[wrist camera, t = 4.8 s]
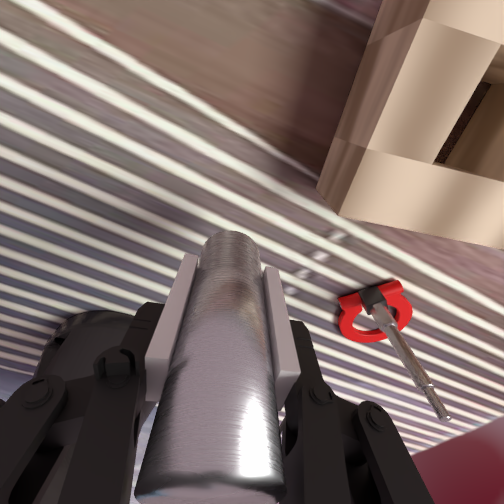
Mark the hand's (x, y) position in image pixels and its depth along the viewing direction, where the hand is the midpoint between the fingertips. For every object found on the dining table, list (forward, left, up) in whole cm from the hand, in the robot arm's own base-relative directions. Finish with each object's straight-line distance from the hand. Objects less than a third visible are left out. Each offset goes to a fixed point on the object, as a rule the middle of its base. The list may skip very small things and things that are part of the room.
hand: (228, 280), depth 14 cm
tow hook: (+18, -9, -10) cm, 22 cm away
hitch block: (+13, +11, -9) cm, 20 cm away
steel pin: (0, 0, -3) cm, 3 cm away
